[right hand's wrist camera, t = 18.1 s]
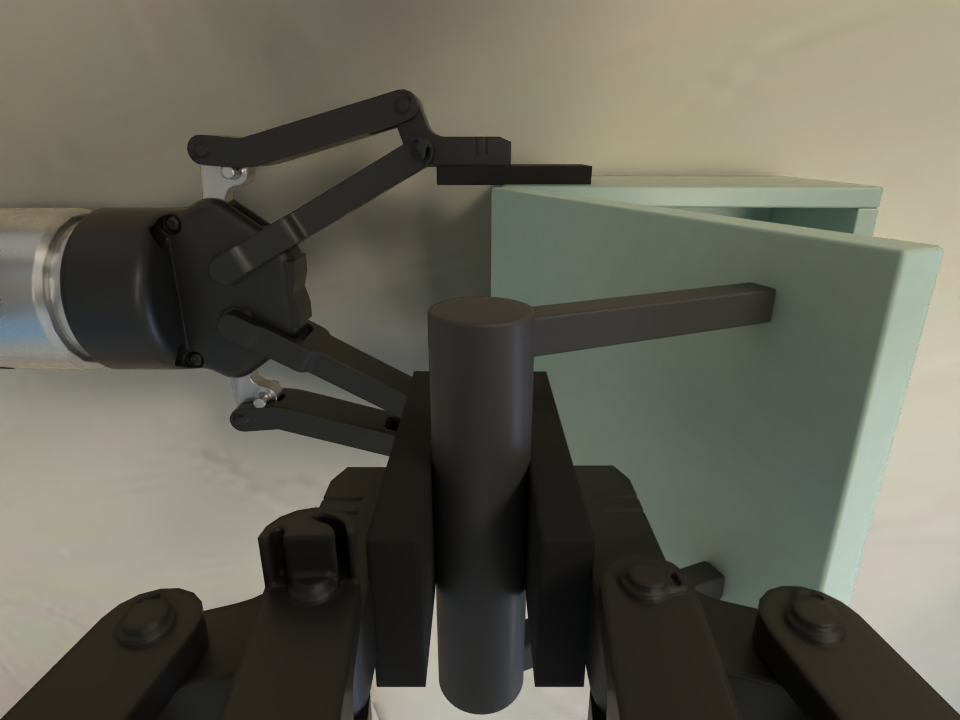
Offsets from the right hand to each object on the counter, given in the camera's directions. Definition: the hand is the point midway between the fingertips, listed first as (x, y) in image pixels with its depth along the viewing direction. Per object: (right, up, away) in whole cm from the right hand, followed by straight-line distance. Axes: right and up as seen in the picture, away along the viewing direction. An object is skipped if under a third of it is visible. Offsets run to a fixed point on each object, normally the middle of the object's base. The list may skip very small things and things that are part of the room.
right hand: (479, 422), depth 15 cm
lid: (+4, +1, +4) cm, 6 cm away
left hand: (+5, +5, +13) cm, 15 cm away
